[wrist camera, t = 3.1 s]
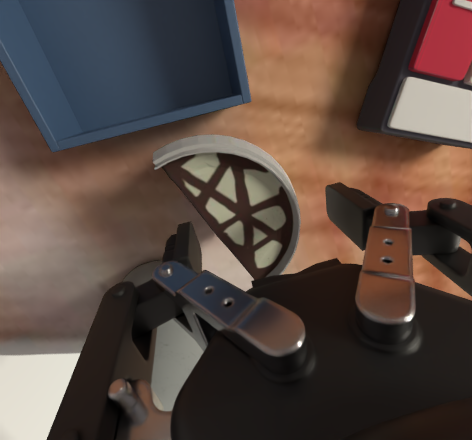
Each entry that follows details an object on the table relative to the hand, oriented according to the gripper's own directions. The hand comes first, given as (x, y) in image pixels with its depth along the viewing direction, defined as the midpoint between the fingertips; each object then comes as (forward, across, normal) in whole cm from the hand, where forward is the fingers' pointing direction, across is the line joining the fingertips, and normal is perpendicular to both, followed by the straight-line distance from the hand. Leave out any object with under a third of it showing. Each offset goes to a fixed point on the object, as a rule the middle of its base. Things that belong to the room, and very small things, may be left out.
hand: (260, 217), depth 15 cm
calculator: (+11, -20, -6) cm, 23 cm away
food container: (+11, 0, 0) cm, 11 cm away
